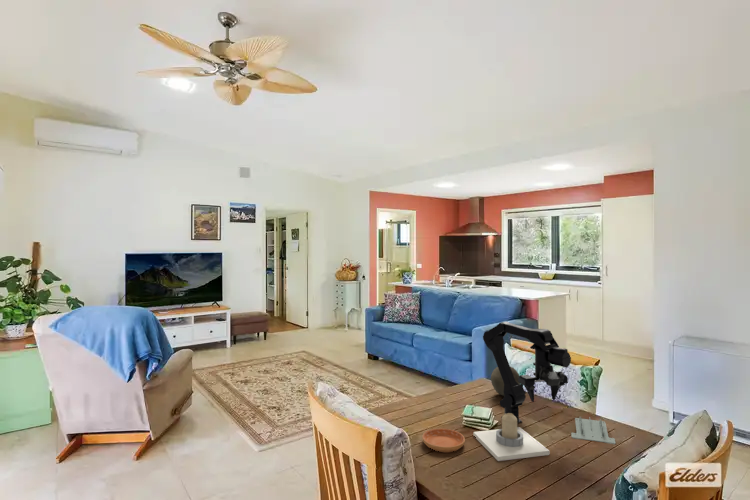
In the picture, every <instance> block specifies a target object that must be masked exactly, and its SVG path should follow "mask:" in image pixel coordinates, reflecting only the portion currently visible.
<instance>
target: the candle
mask: <svg viewBox="0 0 750 500" xmlns="http://www.w3.org/2000/svg"><path fill="white" fill-rule="evenodd" d="M501 417H502V418H501V429H502V437H504V438H508V439H517V427H518V423H517V418H516V417H515V416H514V415H513V414H512V413H507V414H505V415H502V416H501Z"/></svg>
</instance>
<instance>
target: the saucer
mask: <svg viewBox="0 0 750 500" xmlns="http://www.w3.org/2000/svg"><path fill="white" fill-rule="evenodd" d="M421 438H422V442H423V443H424V444H425V445H426V446H427V447H428V448H429V449H430V448H431V449H430V450H432V449H433V450H432V451H434V450H435V452H438V451H439V452H438V453H454V452H456V451H458V450H460V449H461V448H462V447H463V446H464V445H465V443H466V442H465V441H466V438H465V436H464V435H463V434H462V433H460V432H459V431H456V430H453V429H449V428H432V429H429V430H427V431H424V432H423V434H422V436H421ZM453 451H454V452H453Z"/></svg>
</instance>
